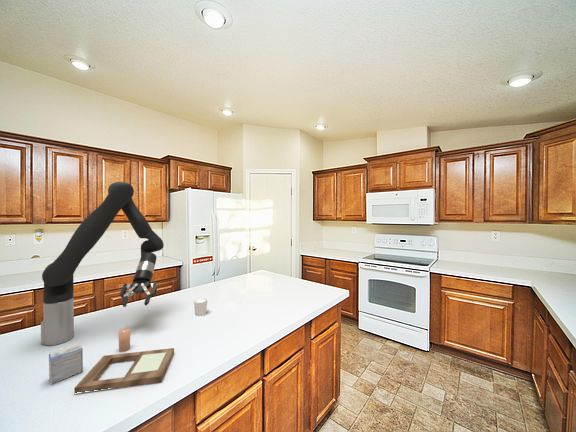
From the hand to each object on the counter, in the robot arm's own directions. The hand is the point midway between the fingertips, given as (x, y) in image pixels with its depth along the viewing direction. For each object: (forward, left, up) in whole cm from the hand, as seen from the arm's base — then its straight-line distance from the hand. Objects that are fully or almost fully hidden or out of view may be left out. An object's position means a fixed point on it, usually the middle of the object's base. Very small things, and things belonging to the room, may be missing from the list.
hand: (134, 305), depth 104 cm
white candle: (+25, +18, -14) cm, 34 cm away
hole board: (+8, -25, -14) cm, 30 cm away
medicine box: (-12, -23, -14) cm, 30 cm away
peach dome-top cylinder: (0, -10, -14) cm, 17 cm away
